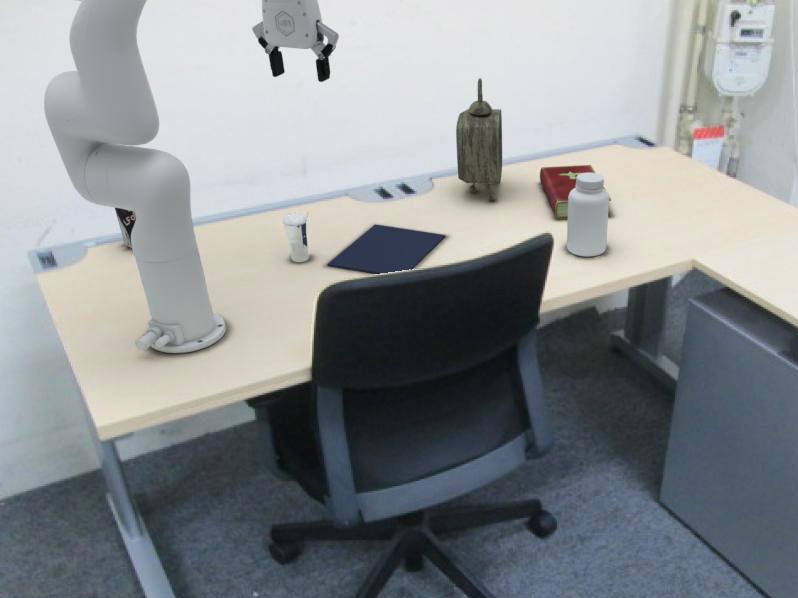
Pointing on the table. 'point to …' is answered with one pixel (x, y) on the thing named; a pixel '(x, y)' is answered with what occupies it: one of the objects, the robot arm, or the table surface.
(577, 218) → the pill bottle
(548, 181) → the hardcover book
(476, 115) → the tabletop clock
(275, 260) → the table surface
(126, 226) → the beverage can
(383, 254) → the mouse pad
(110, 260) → the table surface
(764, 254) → the table surface
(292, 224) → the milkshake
